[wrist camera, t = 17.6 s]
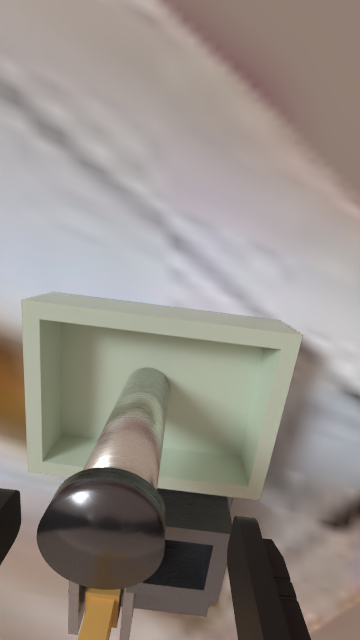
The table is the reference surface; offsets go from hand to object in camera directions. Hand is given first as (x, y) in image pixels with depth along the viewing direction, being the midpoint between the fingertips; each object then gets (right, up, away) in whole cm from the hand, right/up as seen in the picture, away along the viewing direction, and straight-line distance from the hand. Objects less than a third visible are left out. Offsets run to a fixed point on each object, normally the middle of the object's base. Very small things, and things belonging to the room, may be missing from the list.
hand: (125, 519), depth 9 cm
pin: (0, +2, +9) cm, 9 cm away
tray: (0, +3, +9) cm, 10 cm away
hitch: (-1, -12, +13) cm, 18 cm away
